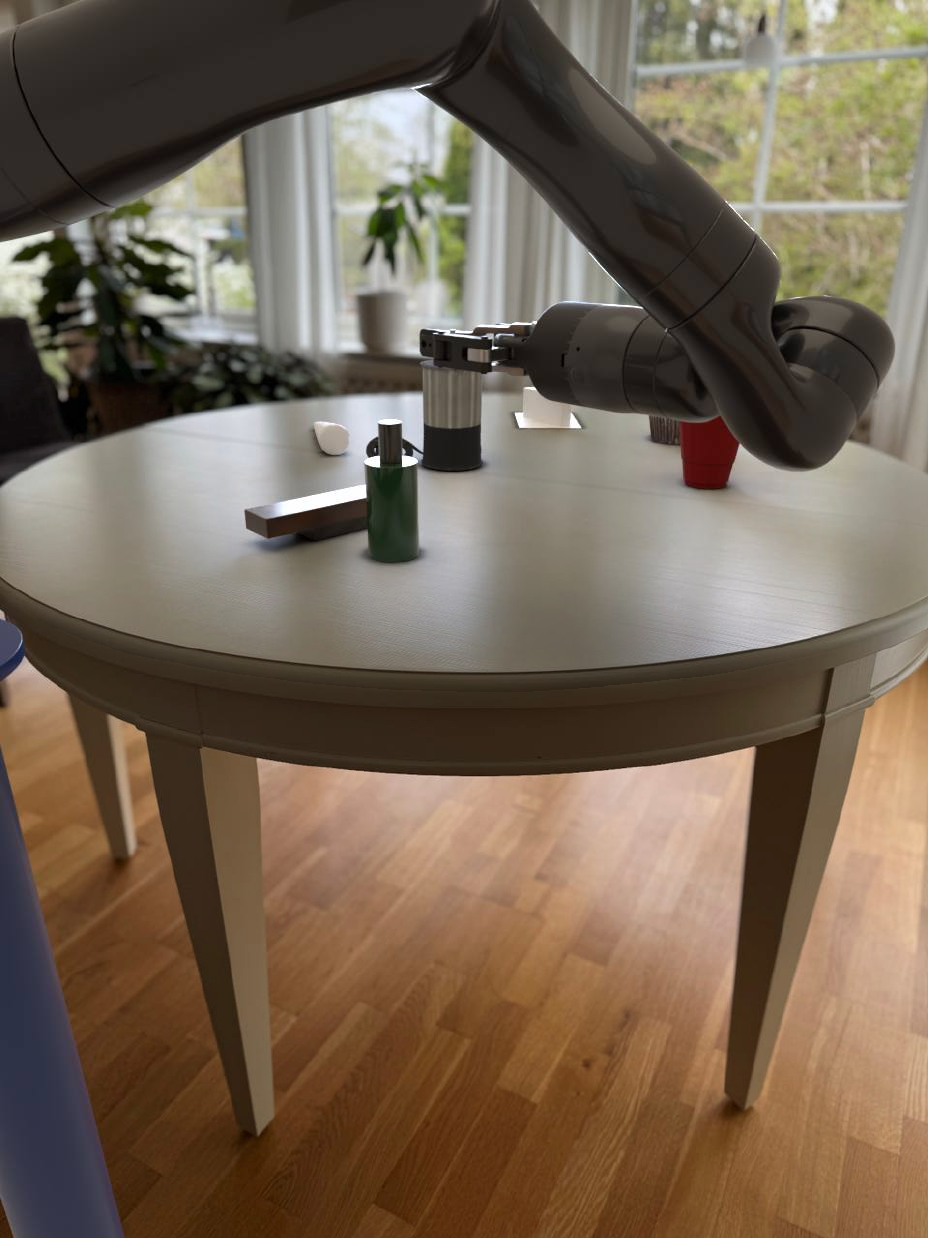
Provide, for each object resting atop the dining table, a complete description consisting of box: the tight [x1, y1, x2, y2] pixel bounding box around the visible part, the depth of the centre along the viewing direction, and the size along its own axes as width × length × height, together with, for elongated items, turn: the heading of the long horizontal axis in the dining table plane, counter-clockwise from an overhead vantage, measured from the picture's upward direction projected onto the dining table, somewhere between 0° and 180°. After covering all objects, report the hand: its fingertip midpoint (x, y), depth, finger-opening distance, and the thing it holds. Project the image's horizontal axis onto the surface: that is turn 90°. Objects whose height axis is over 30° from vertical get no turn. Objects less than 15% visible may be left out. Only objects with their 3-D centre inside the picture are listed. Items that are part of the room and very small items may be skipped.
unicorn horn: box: [313, 421, 351, 456], centre depth 142 cm, size 5×24×5 cm, turn 13°
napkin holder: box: [514, 386, 582, 429], centre depth 159 cm, size 15×11×6 cm
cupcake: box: [648, 415, 681, 446], centre depth 143 cm, size 10×10×10 cm
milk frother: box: [365, 358, 484, 471], centre depth 125 cm, size 14×16×15 cm
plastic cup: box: [679, 415, 741, 490], centre depth 116 cm, size 11×11×12 cm
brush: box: [243, 484, 367, 542], centre depth 98 cm, size 18×5×4 cm, turn 131°
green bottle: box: [364, 419, 420, 563], centre depth 89 cm, size 5×5×14 cm
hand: (460, 338), depth 75 cm, fingers open, 8 cm apart
